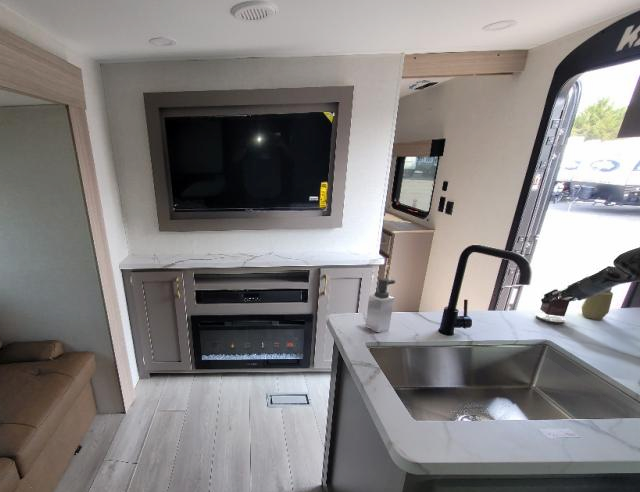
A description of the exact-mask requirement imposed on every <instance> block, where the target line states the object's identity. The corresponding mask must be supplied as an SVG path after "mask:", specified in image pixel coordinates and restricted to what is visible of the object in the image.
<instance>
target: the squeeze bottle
mask: <svg viewBox="0 0 640 492" xmlns="http://www.w3.org/2000/svg"><path fill="white" fill-rule="evenodd" d="M612 289H613V287H611V288H609V289H607V290H605V291H603V292H601V293H599V294H596V295H594V296H591V297H589V298H586V299H584V301H583V303H582V305H581V314H582V316H583V317H584V318H587V319H591V320H599V321H600V320H603V318H605V317H606V316H607V315H608V314H609V312H610V308H611V305H612V304H611V303H612V300H613V296H614V293H613V292H612Z"/></svg>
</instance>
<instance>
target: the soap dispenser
mask: <svg viewBox="0 0 640 492" xmlns="http://www.w3.org/2000/svg"><path fill="white" fill-rule="evenodd" d="M394 284H396V280H394V279H389V278H386V277H379V278H378V287H377V290H376V291H375V292H374V293H373V294H369V295H368V302H367V303H368V304H367V311H366V319H365V327H366V326H368V327H370V328H371V329H373V330H374V331H376V332H381V331H384V332H386V331H385V330H388V329H389V330H390V327H391V320H392V313H393V306H394V301H395V300H394V299H395V298H394V297H393V296H390V294H389V291H387V290H388V285H394ZM389 330H388V331H389ZM374 331H373V332H374ZM381 333H382V332H381Z"/></svg>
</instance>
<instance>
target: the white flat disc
mask: <svg viewBox="0 0 640 492" xmlns="http://www.w3.org/2000/svg"><path fill="white" fill-rule="evenodd" d="M535 319H537V320H539V321H540V322H543V323H546V324H551V325H564V324H565V321H566V320H565V319H564V318H563V317H562V316H555V315H547V314H546V313H544V312H538V313H536V314H535Z"/></svg>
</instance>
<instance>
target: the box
mask: <svg viewBox="0 0 640 492" xmlns="http://www.w3.org/2000/svg"><path fill="white" fill-rule="evenodd" d="M543 298H545V297H544V296H543ZM555 298H556V297H555ZM559 298H562V297H561V296H560V295H559ZM570 303H571V301H570V300H569V299H563V300H554V301H551V302H548V303H546V304H542V303H541V306H540V311H542V313H546V314H547V315H555V316H559V317H565V316H566V313H567V310H568V309H569V305H570Z"/></svg>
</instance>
